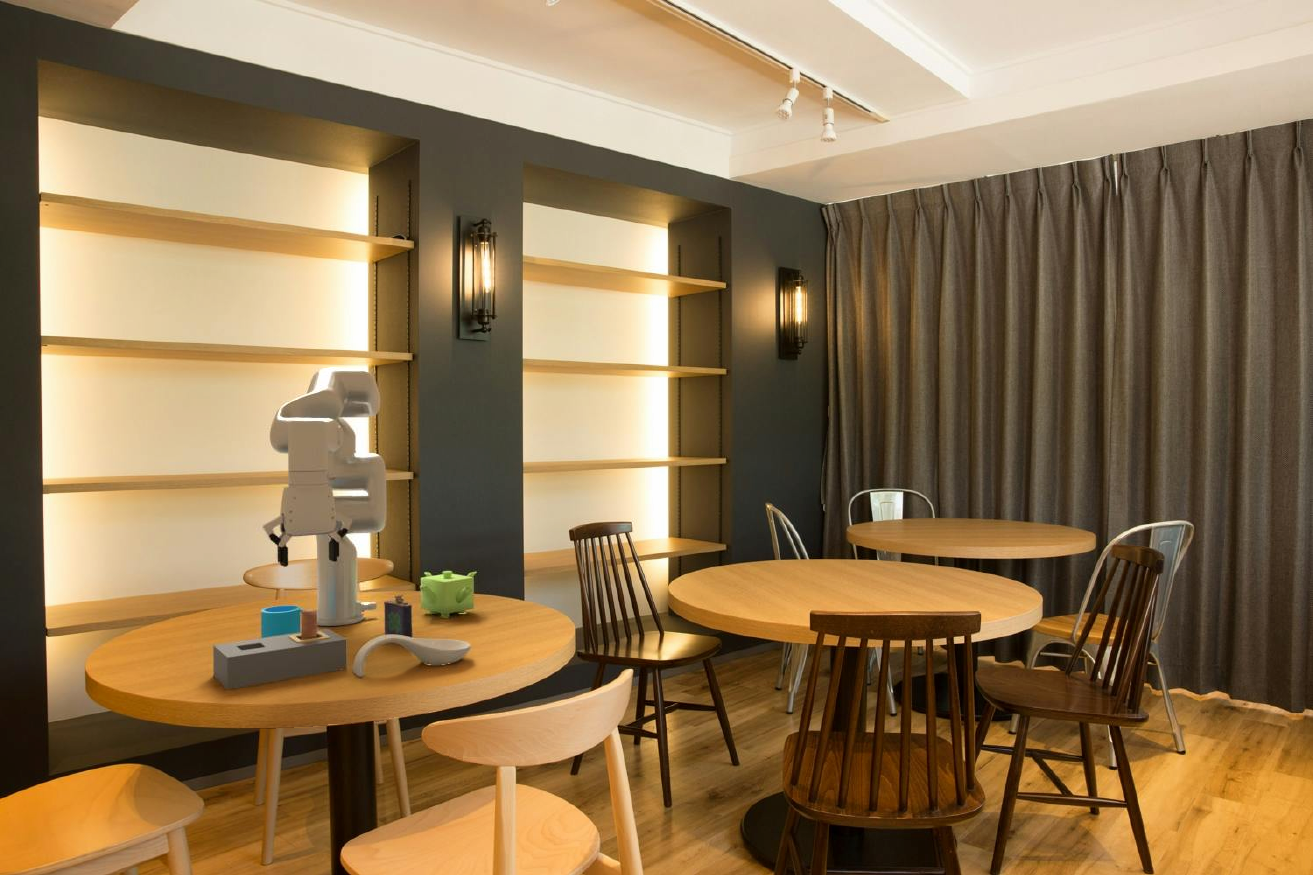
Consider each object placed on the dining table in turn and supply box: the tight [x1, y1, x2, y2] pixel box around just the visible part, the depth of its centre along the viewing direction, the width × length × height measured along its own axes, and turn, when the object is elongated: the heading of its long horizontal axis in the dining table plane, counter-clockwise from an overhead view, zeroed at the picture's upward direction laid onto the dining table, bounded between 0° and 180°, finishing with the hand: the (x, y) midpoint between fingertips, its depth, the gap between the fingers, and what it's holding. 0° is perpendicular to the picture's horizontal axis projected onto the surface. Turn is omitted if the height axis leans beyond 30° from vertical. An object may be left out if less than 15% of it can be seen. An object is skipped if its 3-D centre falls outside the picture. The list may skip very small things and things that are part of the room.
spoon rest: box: [352, 634, 472, 678], centre depth 175 cm, size 24×12×7 cm, turn 126°
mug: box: [260, 604, 304, 638], centre depth 193 cm, size 12×8×8 cm
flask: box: [383, 594, 413, 638], centre depth 195 cm, size 9×3×11 cm, turn 50°
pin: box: [300, 608, 318, 640], centre depth 174 cm, size 3×3×10 cm
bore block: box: [212, 628, 348, 690], centre depth 170 cm, size 22×12×6 cm, turn 129°
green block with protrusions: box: [419, 570, 477, 618], centre depth 224 cm, size 15×14×11 cm
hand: (309, 563), depth 174 cm, fingers open, 9 cm apart
